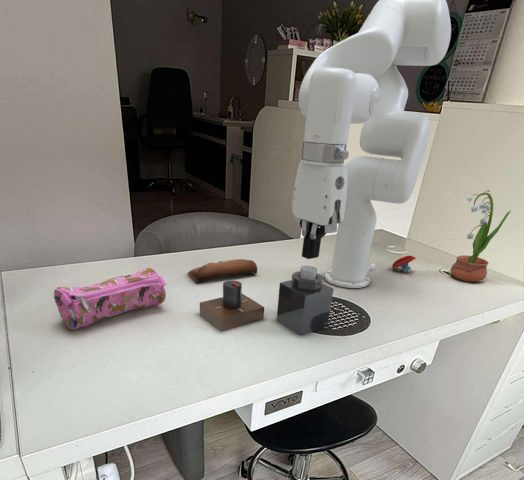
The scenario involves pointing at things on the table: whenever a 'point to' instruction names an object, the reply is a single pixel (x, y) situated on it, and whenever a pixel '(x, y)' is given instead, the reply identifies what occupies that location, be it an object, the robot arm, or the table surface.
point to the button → (403, 263)
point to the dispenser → (304, 304)
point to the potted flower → (477, 246)
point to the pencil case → (109, 298)
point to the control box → (231, 313)
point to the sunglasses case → (223, 269)
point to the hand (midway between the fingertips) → (310, 257)
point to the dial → (232, 294)
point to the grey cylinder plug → (308, 272)
